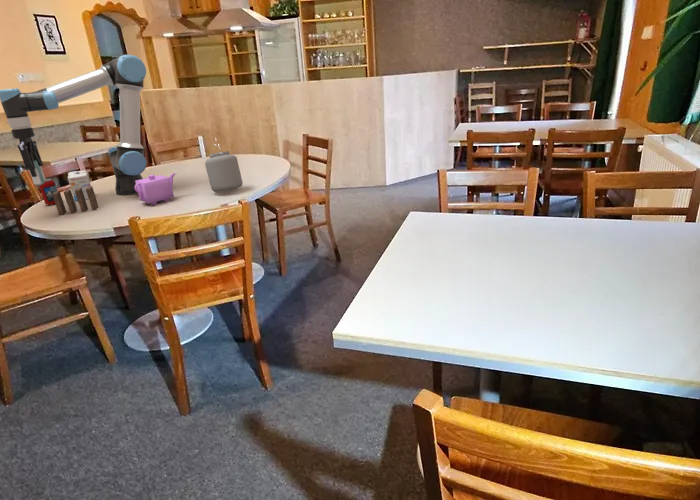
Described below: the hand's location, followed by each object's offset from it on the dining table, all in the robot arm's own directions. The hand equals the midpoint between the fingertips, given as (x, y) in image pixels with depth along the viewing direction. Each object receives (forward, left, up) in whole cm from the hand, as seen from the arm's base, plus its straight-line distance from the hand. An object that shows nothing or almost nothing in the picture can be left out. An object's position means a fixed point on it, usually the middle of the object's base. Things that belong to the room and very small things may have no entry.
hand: (40, 182), depth 197 cm
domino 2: (-5, 0, -15) cm, 16 cm away
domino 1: (0, 0, -1) cm, 1 cm away
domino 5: (-18, 0, -15) cm, 24 cm away
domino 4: (-14, 0, -15) cm, 20 cm away
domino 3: (-9, 0, -15) cm, 18 cm away
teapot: (-47, +4, -15) cm, 50 cm away
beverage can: (+6, -24, -15) cm, 29 cm away
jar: (-77, +4, -15) cm, 79 cm away
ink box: (-7, -28, -15) cm, 32 cm away
